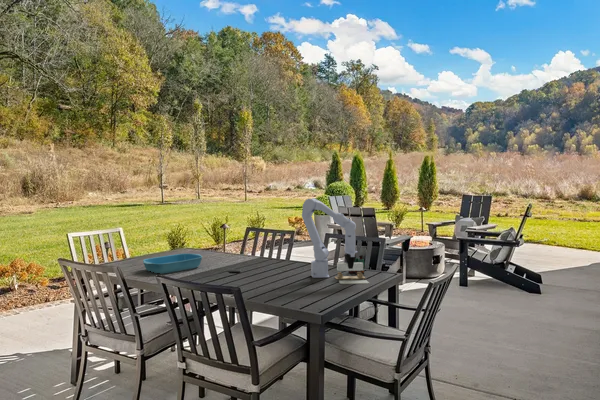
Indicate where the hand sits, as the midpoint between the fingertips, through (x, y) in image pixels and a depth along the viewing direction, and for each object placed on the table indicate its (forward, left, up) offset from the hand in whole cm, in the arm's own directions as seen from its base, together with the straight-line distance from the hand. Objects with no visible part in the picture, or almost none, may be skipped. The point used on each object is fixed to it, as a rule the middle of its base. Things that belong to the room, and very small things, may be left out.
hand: (350, 267), depth 237 cm
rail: (0, 0, -1) cm, 1 cm away
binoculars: (+6, +13, -6) cm, 16 cm away
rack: (0, 0, -6) cm, 6 cm away
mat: (0, -10, -6) cm, 12 cm away
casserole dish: (-102, +33, -6) cm, 107 cm away
